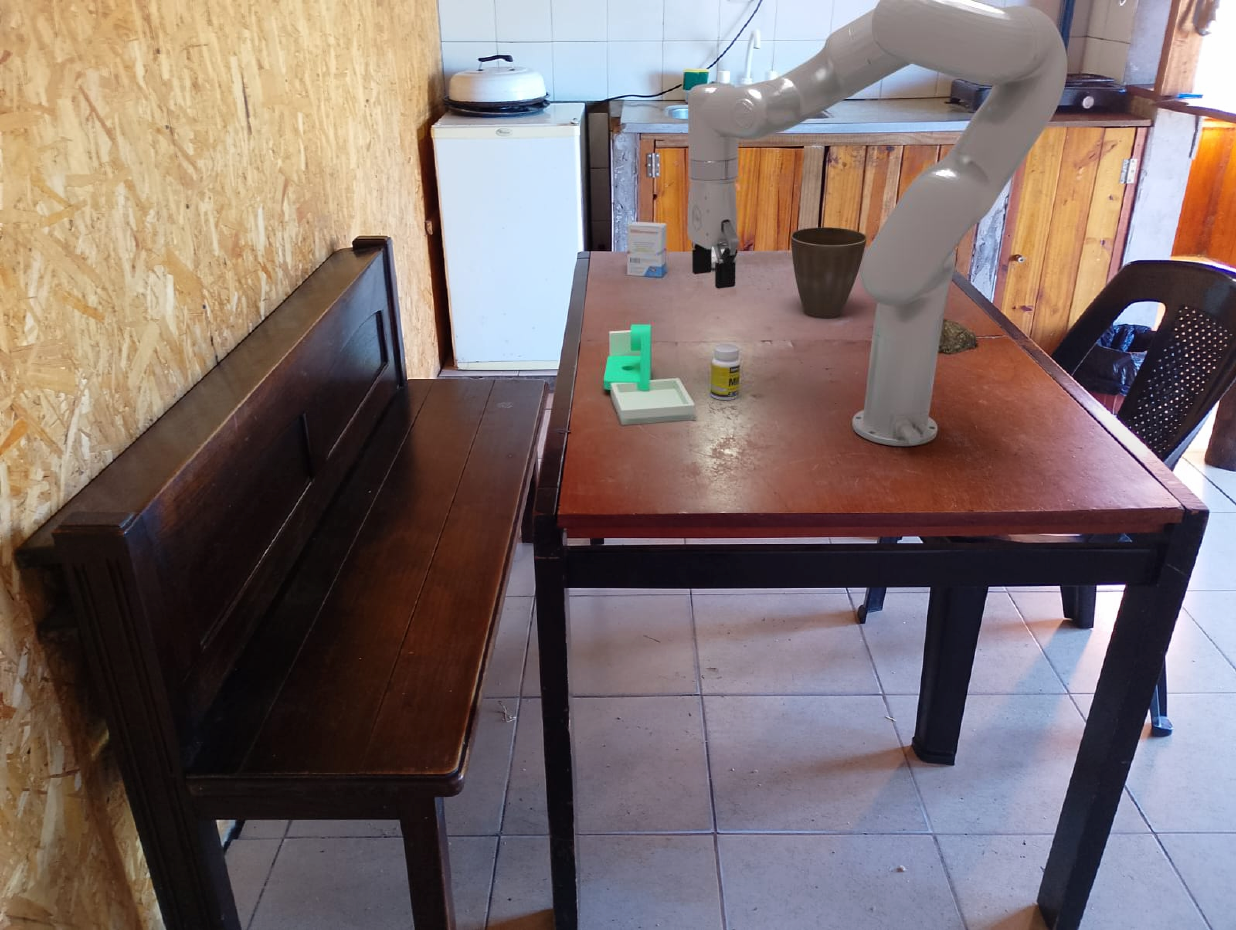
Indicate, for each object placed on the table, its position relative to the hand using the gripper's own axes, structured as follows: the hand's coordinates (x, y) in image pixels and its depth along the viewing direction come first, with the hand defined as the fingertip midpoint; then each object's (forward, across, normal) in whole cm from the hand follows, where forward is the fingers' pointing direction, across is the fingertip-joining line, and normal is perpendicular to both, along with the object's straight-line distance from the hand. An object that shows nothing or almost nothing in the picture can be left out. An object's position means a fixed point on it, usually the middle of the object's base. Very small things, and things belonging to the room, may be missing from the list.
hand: (713, 279), depth 156 cm
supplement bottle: (+19, +3, +1) cm, 19 cm away
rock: (+20, -8, +49) cm, 54 cm away
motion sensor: (+18, -71, +28) cm, 78 cm away
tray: (+19, +4, -13) cm, 23 cm away
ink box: (+17, -71, +12) cm, 74 cm away
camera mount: (+18, -7, -13) cm, 23 cm away
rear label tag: (+18, -14, -11) cm, 25 cm away
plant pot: (+19, -31, +37) cm, 52 cm away
